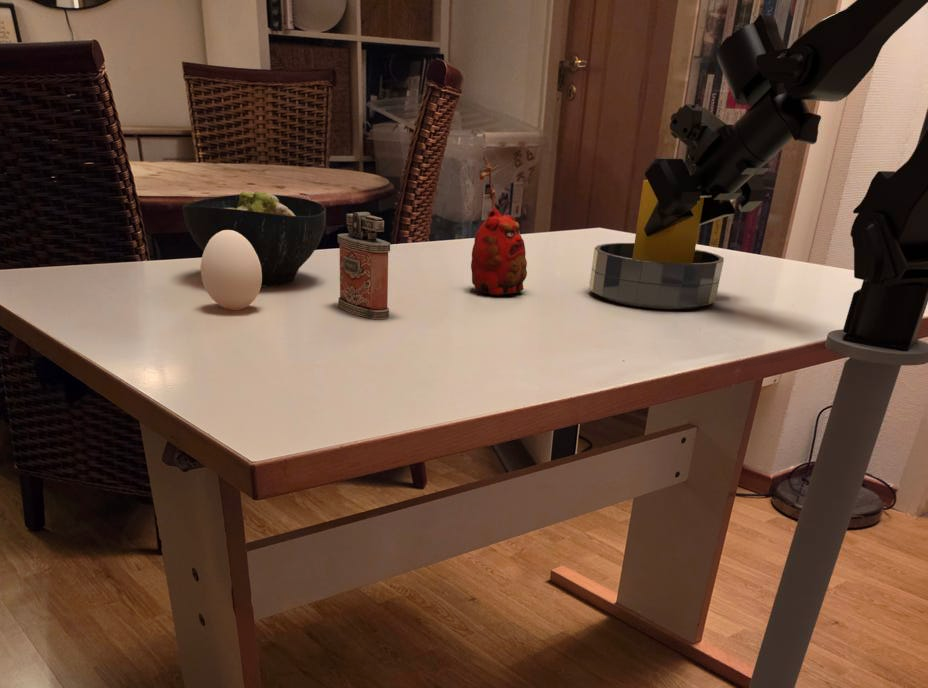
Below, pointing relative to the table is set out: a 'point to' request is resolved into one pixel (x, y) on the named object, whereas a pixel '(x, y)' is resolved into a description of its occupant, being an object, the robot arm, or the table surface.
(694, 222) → the sponge
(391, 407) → the table surface
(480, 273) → the red clay folk toy
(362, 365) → the table surface
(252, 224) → the bowl
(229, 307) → the egg
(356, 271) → the lighter
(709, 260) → the slate bowl
